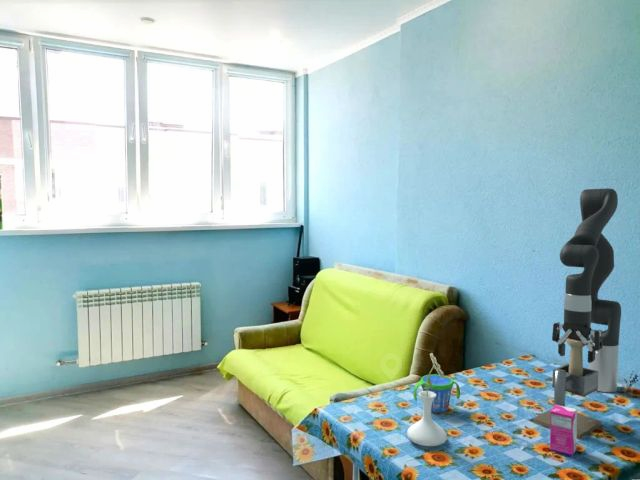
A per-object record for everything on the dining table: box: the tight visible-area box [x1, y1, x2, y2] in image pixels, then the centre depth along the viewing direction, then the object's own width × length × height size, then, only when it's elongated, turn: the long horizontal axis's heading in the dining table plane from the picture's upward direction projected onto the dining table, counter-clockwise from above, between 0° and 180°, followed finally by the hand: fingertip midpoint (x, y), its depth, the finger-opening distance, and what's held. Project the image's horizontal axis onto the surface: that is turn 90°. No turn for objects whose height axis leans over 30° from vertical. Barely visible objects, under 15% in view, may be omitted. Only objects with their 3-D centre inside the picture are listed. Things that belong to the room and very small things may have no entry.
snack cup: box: [412, 373, 461, 414], centre depth 159 cm, size 16×10×10 cm
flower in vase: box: [406, 352, 448, 447], centre depth 137 cm, size 13×11×25 cm
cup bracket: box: [532, 363, 603, 440], centre depth 148 cm, size 17×14×18 cm
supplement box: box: [549, 405, 578, 458], centre depth 131 cm, size 6×6×12 cm
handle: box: [565, 338, 586, 376], centre depth 149 cm, size 5×6×15 cm
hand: (575, 358), depth 149 cm, fingers open, 8 cm apart
